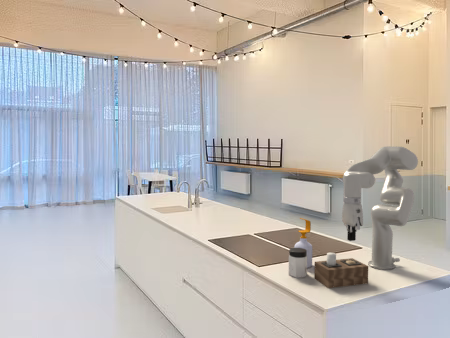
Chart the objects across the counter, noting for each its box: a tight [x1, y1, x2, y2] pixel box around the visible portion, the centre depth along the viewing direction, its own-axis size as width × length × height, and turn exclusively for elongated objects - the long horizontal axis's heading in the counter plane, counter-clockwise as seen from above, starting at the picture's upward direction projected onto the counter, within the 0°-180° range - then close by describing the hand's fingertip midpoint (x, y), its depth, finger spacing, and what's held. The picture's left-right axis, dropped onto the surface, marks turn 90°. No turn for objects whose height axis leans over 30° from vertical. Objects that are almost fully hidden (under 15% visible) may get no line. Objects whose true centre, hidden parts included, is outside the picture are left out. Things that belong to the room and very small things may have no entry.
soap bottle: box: [293, 217, 313, 269], centre depth 193 cm, size 9×9×25 cm
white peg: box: [326, 252, 337, 266], centre depth 170 cm, size 4×4×8 cm
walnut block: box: [313, 257, 369, 289], centre depth 171 cm, size 20×12×8 cm, turn 106°
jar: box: [288, 247, 308, 278], centre depth 180 cm, size 9×8×12 cm
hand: (351, 240), depth 172 cm, fingers closed
